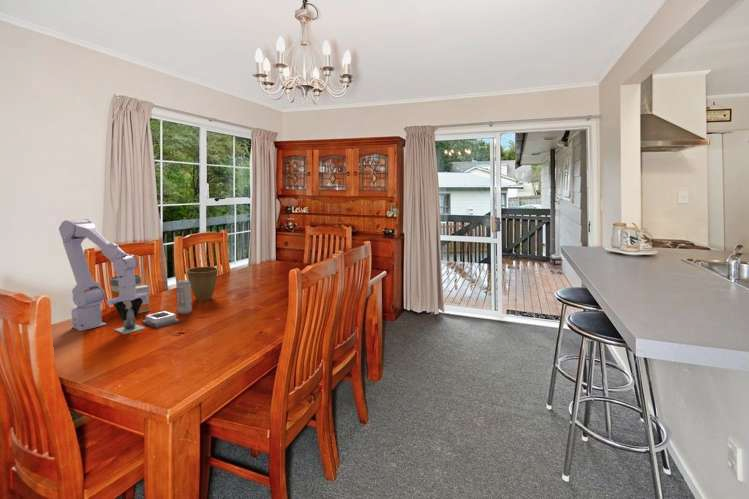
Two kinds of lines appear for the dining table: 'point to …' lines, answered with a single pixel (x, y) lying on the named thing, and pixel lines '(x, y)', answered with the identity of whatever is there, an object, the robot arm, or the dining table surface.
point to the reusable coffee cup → (116, 287)
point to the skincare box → (146, 302)
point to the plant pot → (203, 281)
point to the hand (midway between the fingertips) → (129, 318)
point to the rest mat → (125, 331)
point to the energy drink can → (184, 297)
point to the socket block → (160, 319)
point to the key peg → (129, 318)
